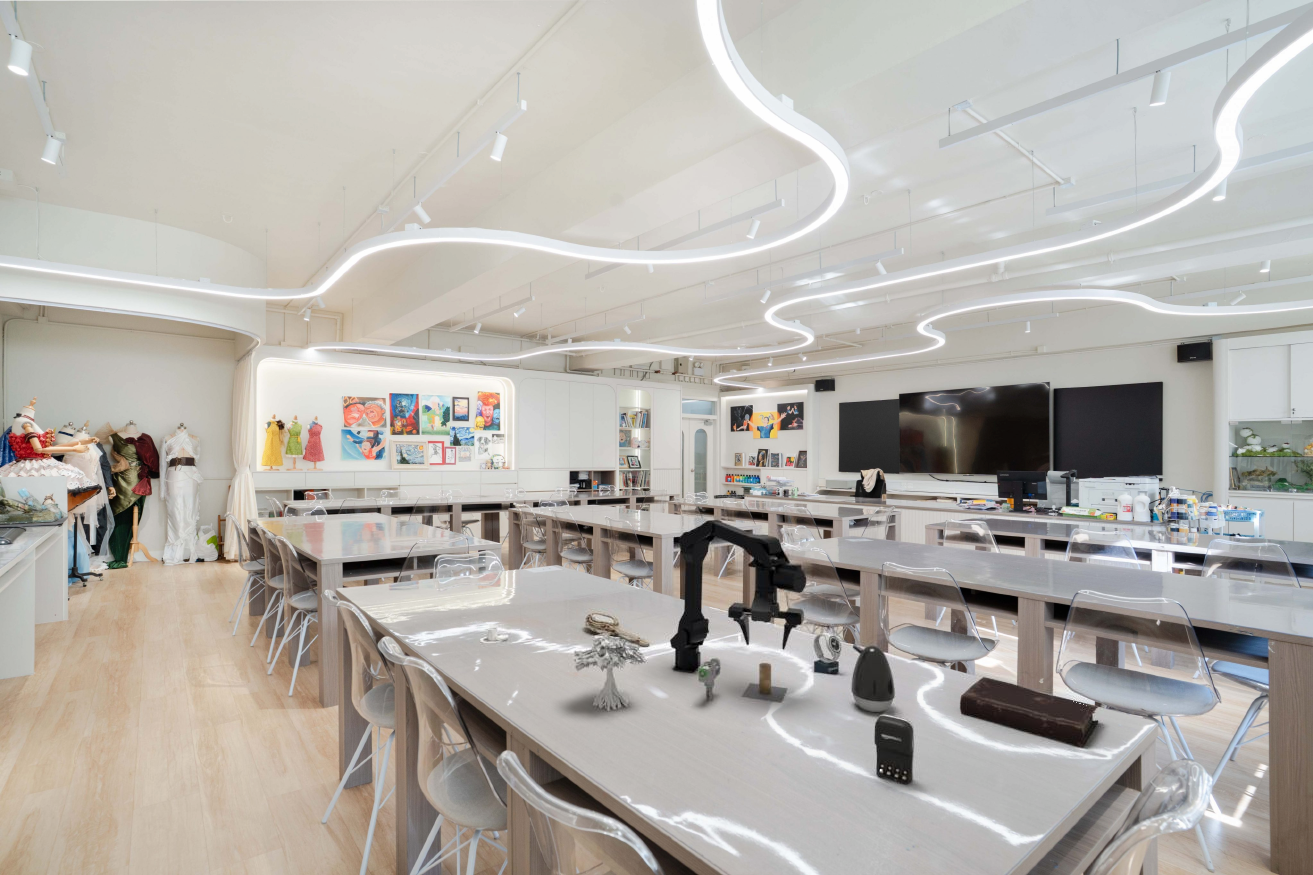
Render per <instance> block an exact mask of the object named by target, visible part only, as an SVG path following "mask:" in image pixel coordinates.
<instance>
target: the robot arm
mask: <svg viewBox="0 0 1313 875" xmlns="http://www.w3.org/2000/svg"><path fill="white" fill-rule="evenodd" d="M716 538H718V539H720V540H723V541H725V542H727V543H730V544H733V545H735V546H737V547H739V548H741V549H743V550H745V552H746V554H747V555H749V556H750V557H751V558H753V559H752V561H750V562H749V563H748V564H747V567H749V568H754V596H753V600H752V603H751V606H750V607H748V603H743V602H734V603H732V604H731V605H730V606H729V607H728V610H727V617H728V618H730V619H732V621H733V622H736V623H737V625H739V627H740V629H741V632H742V635H743V638H744V641H745V643H746V646H749V645H750V620H751V621H752V622H763V623H765V624H766V623H770V622H771V620H772V618H773V619H780V620H782V619H783V620H785V623H784V625H783V637H782V643H781V645H782V648H781V649H782V650H783V651H784V650H785V648H786V645H787V643H788V640H789V638H790V634H791V631H792V630H793V629H794V628H795V629H796V628H797V627H798V626H802V625H803V623H804V621H805V611H804V610H803V609H802V608H794V607H793V608H792V607H788V608H787V609H786V611H785V610H784V611H783V610H781V607H780V603H779V602H778V590H783V591H787V592H792V593H797V594H800V593H802V592H803V591H804V590H805V588H806V584H807V576H806V573H805V571H804V570H803V569H802V564H798V563H796V564H793V563H791V562H790V560H789V557H788V556H787V554H786V552H785V551H784V548H783V547H782V543H781V542H780V540H779V538H778V537H776V536H774V535H773V536H772V535H766V534H755V533H751V532H748V531H745V530H744V529H741V528H738V527H735V526H734V525H731V524H729V523H725V522H723V521H722V520H720V519H708V520H706V521H704V523H702V524H700V525H699V526H696V527H695V528H692V529H690V530H689V531H685V532H683V533H682V534H681V535H680V536H679V549H680V554H681V556H682V559H683V560H684V562H685V567H684V570H685V572H684V608H683V609H684V610H683V613H682V616H680V619H679V621H678V626H677V632H676V633H675V634H674V636H672V637H671V638H670V640H669V642H670V646H671V649H674V652H675V653H674V655H675V656H674V657H675V658H674V666H673V667H672V670H674V671H679V672H686V673H687V672H688V673H695V672H696V671H698V668H699V667H700V666H701V665H702V664H701V655H702V653H701V652H700V646H703V645H704V642H705V640H706V639H707V637H708V634H709V633H710V629H709V624H710V623H709V622H710V620H709V618H705V616H704V614H703V613H702V612H703V610H702V609H703V607H702V606H703V605H702V603H703V602H702V600H703V569H704V568H703V566H704V565H703V564H704V561H705V559H706V557H707V555H708V553H709V547H710V544H711V543H712V542H713V541H714V540H716ZM749 616H750V617H749ZM750 618H751V619H750Z"/></svg>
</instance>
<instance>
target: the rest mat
mask: <svg viewBox="0 0 1313 875" xmlns="http://www.w3.org/2000/svg"><path fill="white" fill-rule="evenodd" d="M788 689H789V688H787V687H779V686H773V685H771V694H768V695H764V694H761V693H759V683H753V682H750V683H749V684H748V685H747V687H746V688H745V690H744V691H743V693H742V695H741V697H743V698H748V699H754V700H760V701H761V700H762V701H766V702H767V701H768V702H774V703H780V704H781V703H782V702H783V700H784V698H785V696H786V694H787V691H788Z"/></svg>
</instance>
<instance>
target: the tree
mask: <svg viewBox="0 0 1313 875" xmlns="http://www.w3.org/2000/svg"><path fill="white" fill-rule="evenodd" d="M592 642H593V646H591V648H590V649H586V650H584V651H583V650H574V651H573V652H574V656H573V657H572V658H573V661H574V662H575V667H574V668H575V669H576V671H577V672H579V671H581V670H582V669H584V668H585V669H587V668H588V669H590V666H591V665H592V666H593V667H594V666H596V667H598V668H600V670H601V672H604V670H605V669H606V679H605V682H604V685H603V687H602V689H601V690H600V691H599V693H598V695H597V696H595V698H594V699H593V704H592V706H595V707H598V708H599V709H602V708H604V709H606V710H607V711H608V712H609V711H610V710H611V708H612V709H613V710H616V709H620V708H622V704H623V705H624V706H625V707H629V705H628V704H629V703H630V702H629V700H628V699H627V698H626V697H625V696H624V695H622V694H621V692H620V691H619V690H618V687H617V684H616V680H615V677H614V672H613V668H614V669H615V668H617V669H618V670H619V669H624V668H625V667H626V665H627V662H628V660H629V664H631V665H633V666H635V667H636V668H638V666H637V664H638V665H639V666H640V667H641V666H642V665H641V664H643V663H645V664H646V662H647V661H646V660H647V659H646V657H645V655H644V654H643V653H642V652H640V651H641V650H640V648H641V645H638V646H636V645H633V644H632V643H627V641H626V639H621V637H620V636H619V637H617V636H615V635H611V634H608V633H606V634H605V633H604V634H602V633H601V634H600V633H598V634H596V635H594V639H592Z"/></svg>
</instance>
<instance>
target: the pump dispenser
mask: <svg viewBox="0 0 1313 875" xmlns="http://www.w3.org/2000/svg"><path fill="white" fill-rule="evenodd" d="M852 649H853V650H854V651H856V652H857V653H858V654H859V656H858V658H857V660H856V663H855V665H854V669H853V671H852V677H851V685H850V686H851V687H850V692H851V694H852V696H853V700H854V701H855V703H856V704H857V706H859V707H860V708H861V709H863V710H865V711H868V712H872V713H881V712H884V711H887V710H888V709H890V707H891V706H892V703H893V701H894V699H895V698H896V696H895V695H896V690H895V689H896V688H895V682H894V676H893V672H892V669H891V666H890V663H889V661H888V660H889V659H888V657H887V656H886V654H885V653H884V650H882V649H881V648H880V647H878V646H877V645H871V644H870V645H867V646H866V647H864V648H862V647H860V646H858V644H857V645H856V644H853V645H852Z"/></svg>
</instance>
